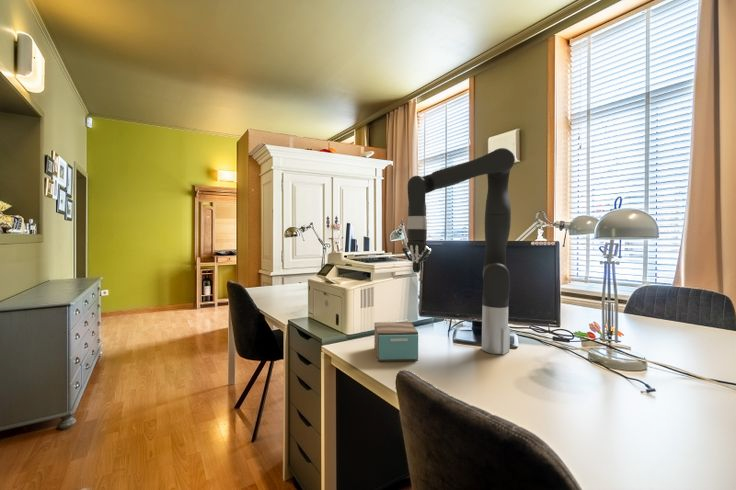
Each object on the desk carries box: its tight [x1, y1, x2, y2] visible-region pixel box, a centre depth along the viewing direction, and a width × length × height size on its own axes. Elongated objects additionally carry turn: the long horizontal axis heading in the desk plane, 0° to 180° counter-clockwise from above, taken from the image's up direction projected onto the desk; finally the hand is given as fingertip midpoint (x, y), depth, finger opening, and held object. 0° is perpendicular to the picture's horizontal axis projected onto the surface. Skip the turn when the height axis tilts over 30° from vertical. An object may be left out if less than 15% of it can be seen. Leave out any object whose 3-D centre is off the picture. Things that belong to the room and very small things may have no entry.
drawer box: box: [373, 321, 419, 362], centre depth 132 cm, size 14×14×10 cm
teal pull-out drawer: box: [379, 333, 419, 360], centre depth 130 cm, size 14×14×8 cm
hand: (416, 272), depth 141 cm, fingers closed
